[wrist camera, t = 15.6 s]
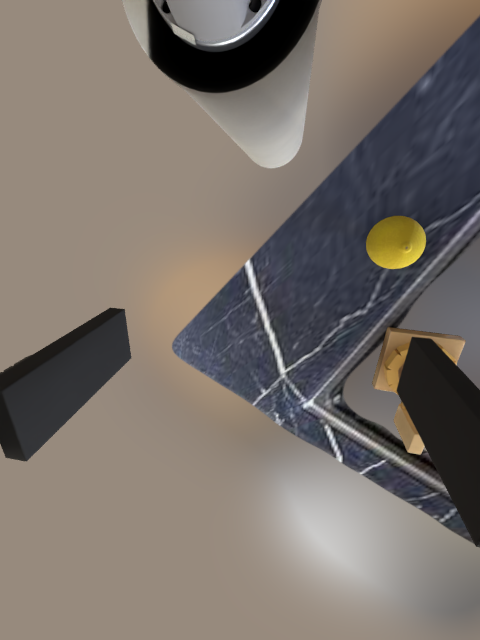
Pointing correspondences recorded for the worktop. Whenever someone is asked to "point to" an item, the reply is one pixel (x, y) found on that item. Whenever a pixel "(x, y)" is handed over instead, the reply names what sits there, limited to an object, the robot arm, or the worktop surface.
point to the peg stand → (403, 336)
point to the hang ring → (402, 416)
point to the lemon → (395, 242)
